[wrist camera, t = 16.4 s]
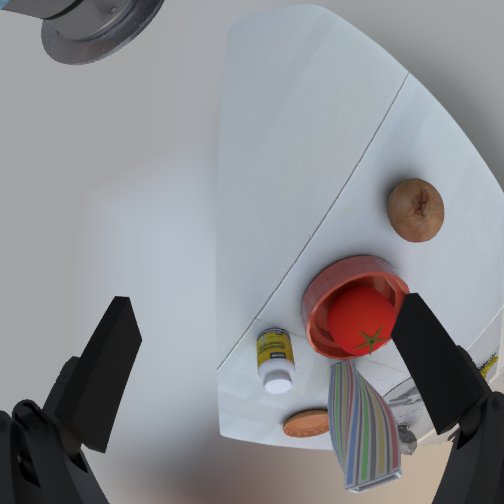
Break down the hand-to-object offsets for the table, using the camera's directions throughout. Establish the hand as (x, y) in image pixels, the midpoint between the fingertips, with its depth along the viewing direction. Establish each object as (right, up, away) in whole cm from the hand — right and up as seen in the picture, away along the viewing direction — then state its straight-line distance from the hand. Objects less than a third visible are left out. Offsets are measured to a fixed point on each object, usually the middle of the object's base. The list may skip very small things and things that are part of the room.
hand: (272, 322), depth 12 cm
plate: (+51, -43, +55) cm, 87 cm away
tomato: (+17, -6, +35) cm, 39 cm away
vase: (+20, -23, +45) cm, 54 cm away
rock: (+58, -69, +69) cm, 113 cm away
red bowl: (+17, -6, +35) cm, 40 cm away
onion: (+23, +11, +27) cm, 38 cm away
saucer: (+16, -46, +56) cm, 74 cm away
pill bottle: (+3, -14, +39) cm, 42 cm away
